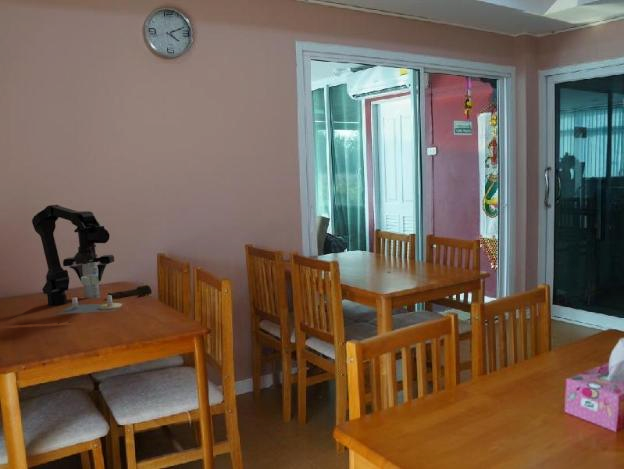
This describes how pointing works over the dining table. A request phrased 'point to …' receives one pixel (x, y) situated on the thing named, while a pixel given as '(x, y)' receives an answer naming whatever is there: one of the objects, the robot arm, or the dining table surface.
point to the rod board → (92, 307)
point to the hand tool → (132, 292)
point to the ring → (90, 280)
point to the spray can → (90, 290)
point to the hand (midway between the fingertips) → (91, 281)
